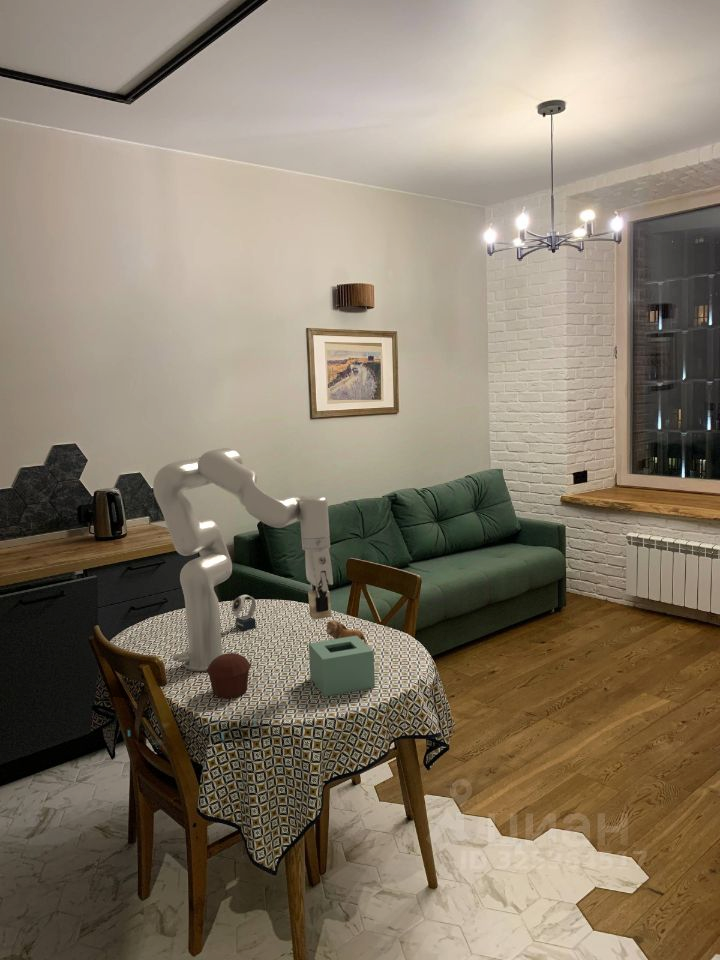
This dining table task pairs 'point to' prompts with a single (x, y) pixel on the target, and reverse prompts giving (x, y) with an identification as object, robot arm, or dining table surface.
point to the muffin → (229, 675)
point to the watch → (244, 621)
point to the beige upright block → (312, 606)
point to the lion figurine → (342, 631)
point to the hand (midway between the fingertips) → (320, 608)
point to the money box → (341, 665)
